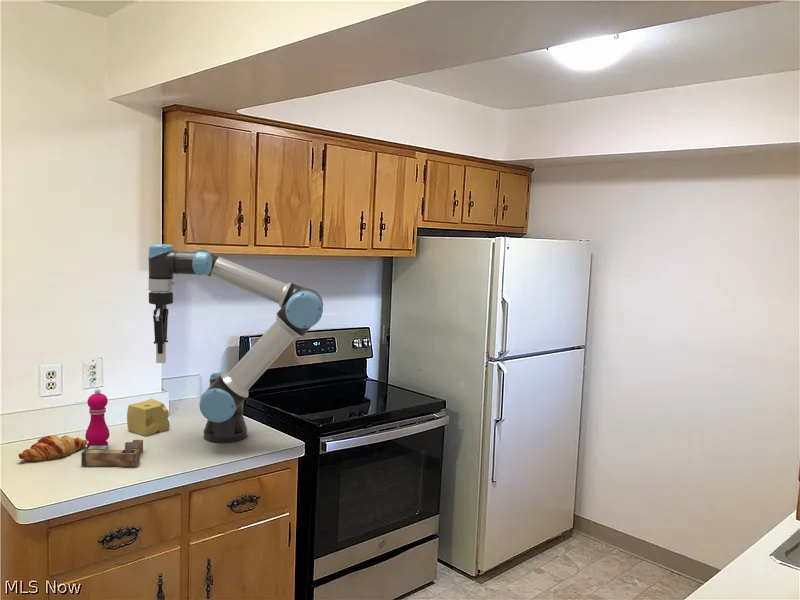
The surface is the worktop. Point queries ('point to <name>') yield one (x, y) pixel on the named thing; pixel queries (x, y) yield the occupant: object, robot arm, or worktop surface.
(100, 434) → the pepper mill
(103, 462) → the leg
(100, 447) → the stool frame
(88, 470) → the worktop surface
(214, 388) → the robot arm
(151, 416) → the cheese
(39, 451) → the croissant
